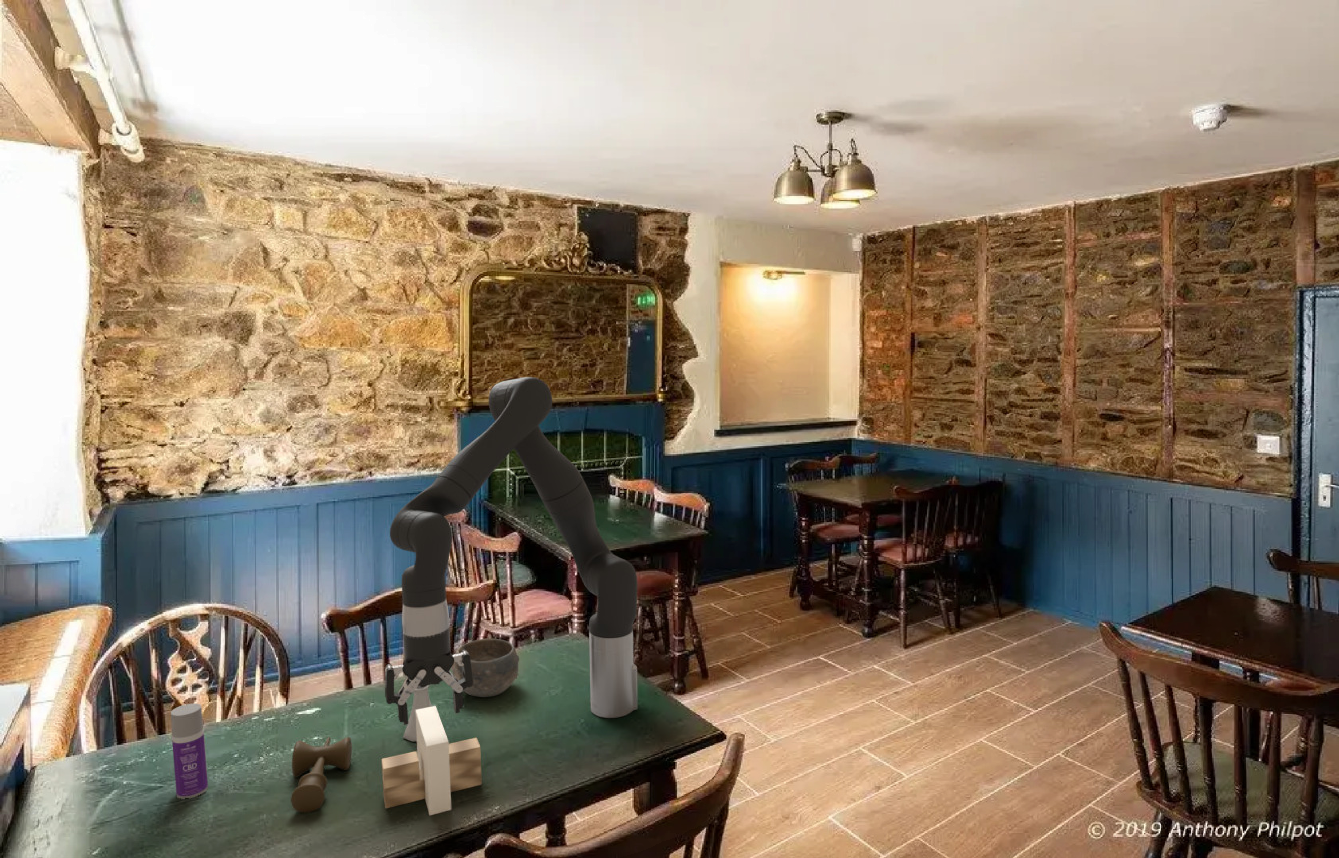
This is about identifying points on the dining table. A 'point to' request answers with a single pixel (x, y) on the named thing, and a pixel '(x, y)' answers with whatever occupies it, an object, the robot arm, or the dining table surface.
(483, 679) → the bowl
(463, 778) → the oak base
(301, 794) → the kendama
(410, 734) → the flask
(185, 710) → the container
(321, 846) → the dining table surface
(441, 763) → the white rectangular block
